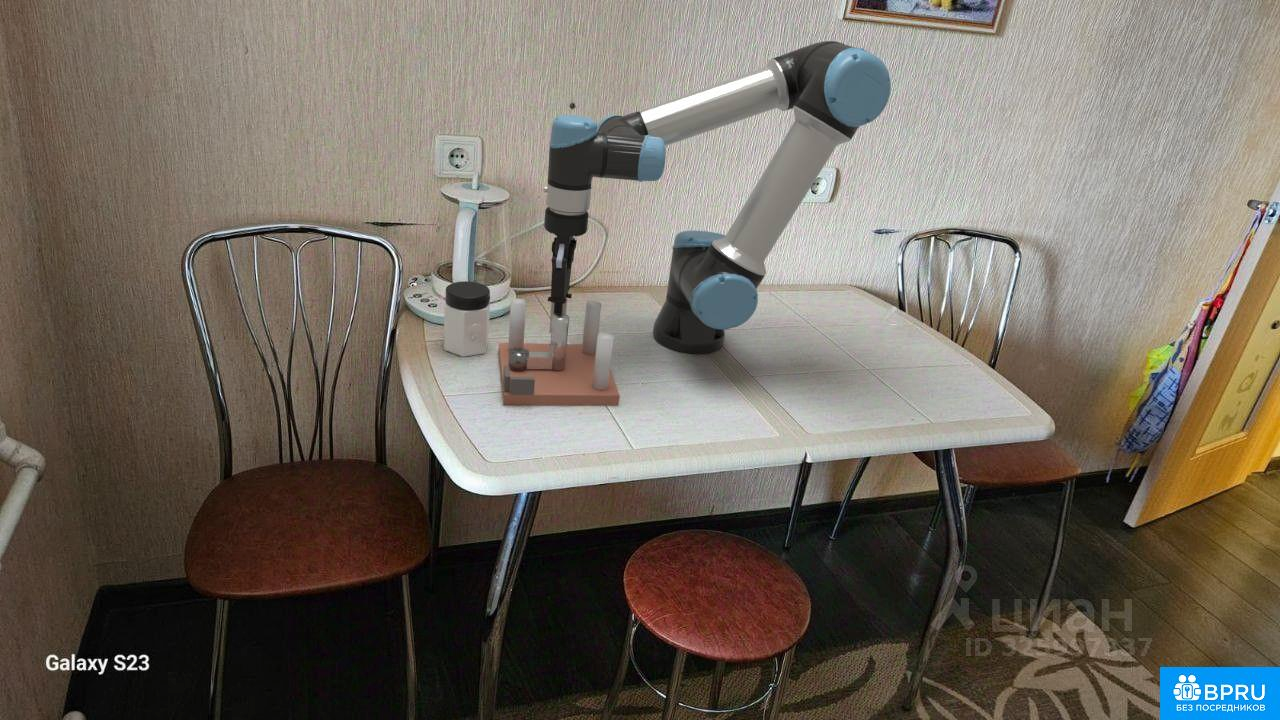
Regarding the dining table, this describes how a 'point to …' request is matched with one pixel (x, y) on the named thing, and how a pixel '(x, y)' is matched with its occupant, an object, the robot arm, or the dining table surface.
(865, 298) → the dining table surface
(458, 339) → the jar
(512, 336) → the seat
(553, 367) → the shiny metal angled handle
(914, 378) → the dining table surface
